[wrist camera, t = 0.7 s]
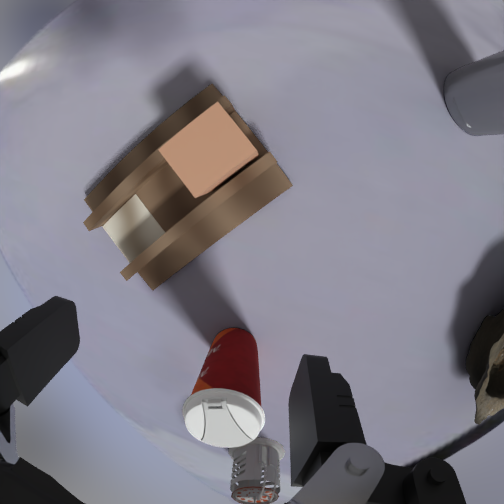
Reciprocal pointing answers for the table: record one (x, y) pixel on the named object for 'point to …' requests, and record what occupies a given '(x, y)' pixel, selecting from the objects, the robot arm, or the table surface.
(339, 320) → the table surface
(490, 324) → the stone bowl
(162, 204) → the chute
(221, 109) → the block
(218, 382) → the paper cup
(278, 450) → the french press
